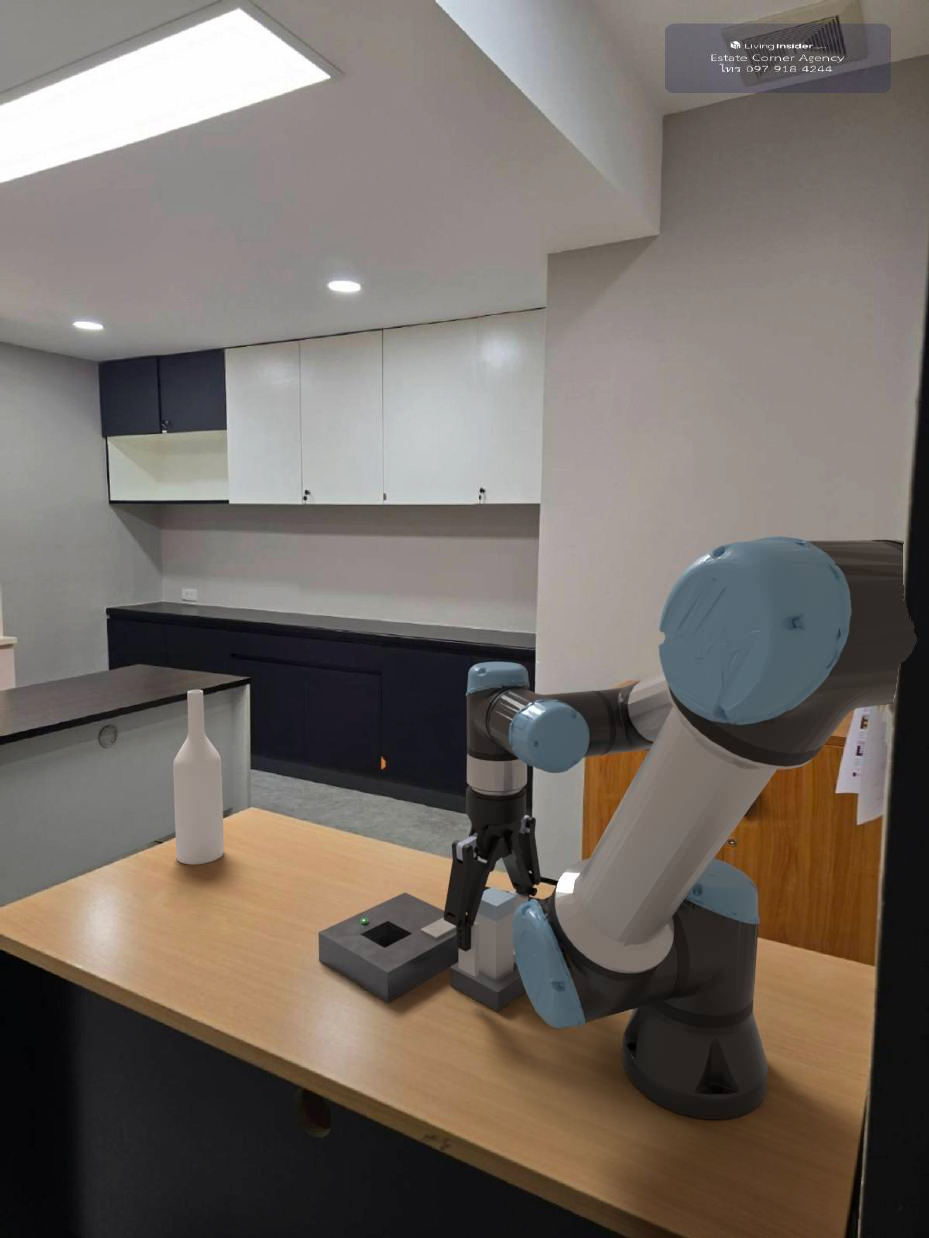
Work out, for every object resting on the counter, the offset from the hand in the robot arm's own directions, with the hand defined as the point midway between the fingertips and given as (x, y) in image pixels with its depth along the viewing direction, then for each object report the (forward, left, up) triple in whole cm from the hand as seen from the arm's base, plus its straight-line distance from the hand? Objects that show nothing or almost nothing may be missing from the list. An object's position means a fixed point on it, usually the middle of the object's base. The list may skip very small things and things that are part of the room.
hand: (493, 955), depth 99 cm
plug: (0, 0, -4) cm, 4 cm away
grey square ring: (0, 0, -4) cm, 4 cm away
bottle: (+64, +6, -4) cm, 64 cm away
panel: (+14, +4, -4) cm, 15 cm away
